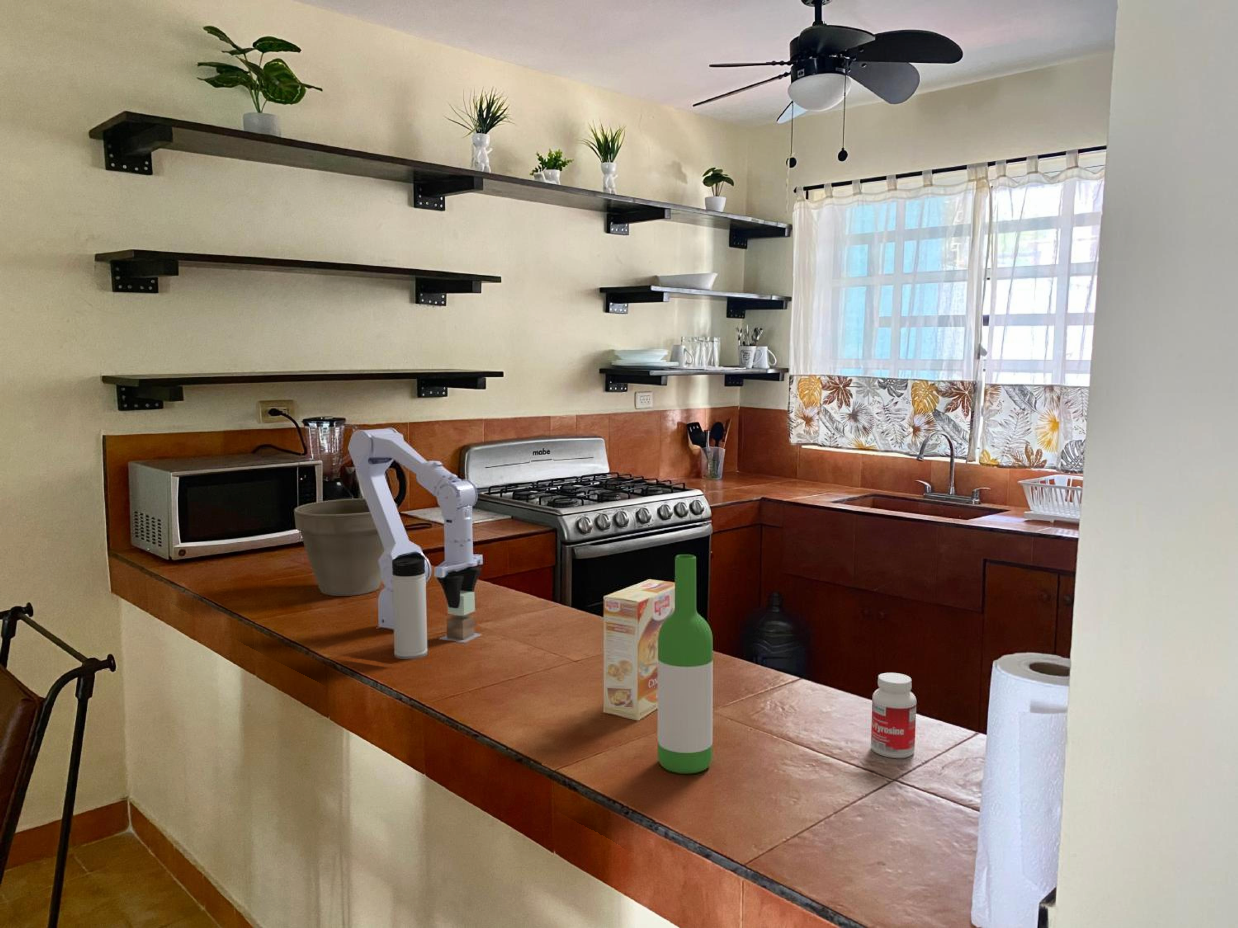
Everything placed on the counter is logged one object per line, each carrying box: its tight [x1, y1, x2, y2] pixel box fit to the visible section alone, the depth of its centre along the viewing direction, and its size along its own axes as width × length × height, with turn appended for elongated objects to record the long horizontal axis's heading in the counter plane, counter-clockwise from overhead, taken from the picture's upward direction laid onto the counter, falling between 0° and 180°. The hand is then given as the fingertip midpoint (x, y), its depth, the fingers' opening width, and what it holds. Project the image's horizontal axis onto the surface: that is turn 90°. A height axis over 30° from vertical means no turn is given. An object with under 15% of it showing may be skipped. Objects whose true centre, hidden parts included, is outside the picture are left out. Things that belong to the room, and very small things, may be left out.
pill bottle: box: [870, 672, 917, 759], centre depth 136 cm, size 6×6×11 cm
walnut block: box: [446, 614, 475, 640], centre depth 193 cm, size 4×4×4 cm
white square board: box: [438, 632, 483, 644], centre depth 193 cm, size 12×12×1 cm
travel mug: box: [392, 553, 428, 660], centre depth 181 cm, size 6×7×20 cm
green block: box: [446, 591, 476, 616], centre depth 193 cm, size 4×4×4 cm
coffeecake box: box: [603, 578, 675, 721], centre depth 156 cm, size 15×7×20 cm, turn 148°
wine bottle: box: [657, 553, 714, 775], centre depth 131 cm, size 8×8×30 cm
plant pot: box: [293, 498, 398, 597], centre depth 236 cm, size 25×25×22 cm
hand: (460, 604), depth 193 cm, fingers closed on green block, 4 cm apart
